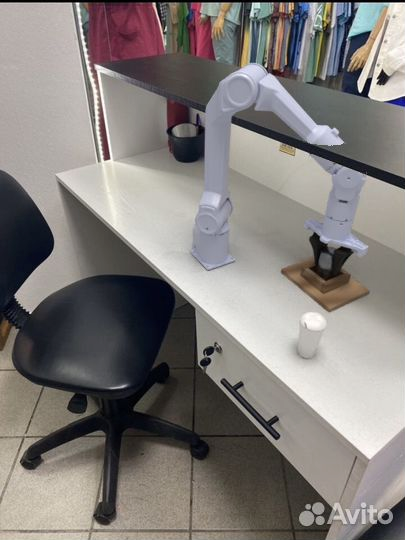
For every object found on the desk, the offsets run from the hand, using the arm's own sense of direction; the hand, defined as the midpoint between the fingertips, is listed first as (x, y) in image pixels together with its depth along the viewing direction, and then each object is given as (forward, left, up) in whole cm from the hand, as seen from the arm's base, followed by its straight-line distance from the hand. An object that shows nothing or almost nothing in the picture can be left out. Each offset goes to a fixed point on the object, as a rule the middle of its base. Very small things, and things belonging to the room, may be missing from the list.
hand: (326, 268), depth 87 cm
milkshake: (+14, -18, -4) cm, 23 cm away
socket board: (0, 0, -4) cm, 4 cm away
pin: (0, 0, -2) cm, 2 cm away
